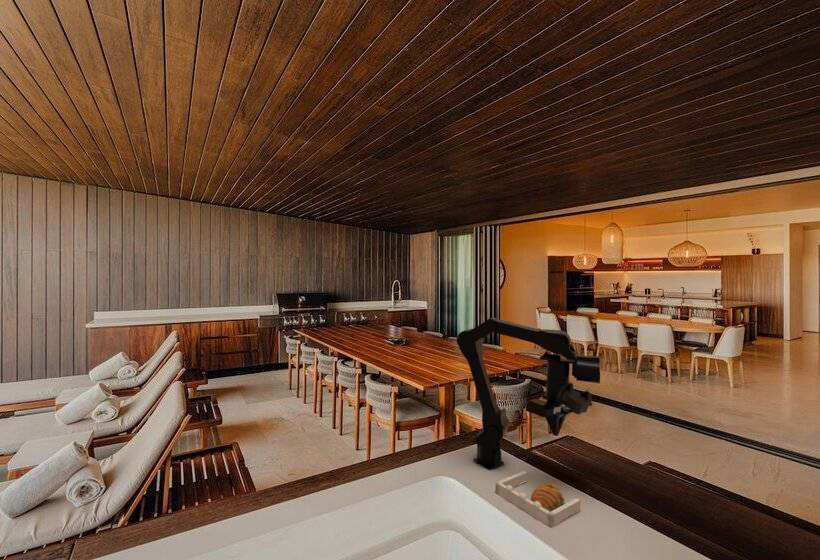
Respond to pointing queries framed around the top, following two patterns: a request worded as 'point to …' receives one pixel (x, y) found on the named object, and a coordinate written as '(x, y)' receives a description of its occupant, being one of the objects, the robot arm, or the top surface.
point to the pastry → (548, 496)
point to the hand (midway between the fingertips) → (555, 435)
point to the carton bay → (534, 508)
